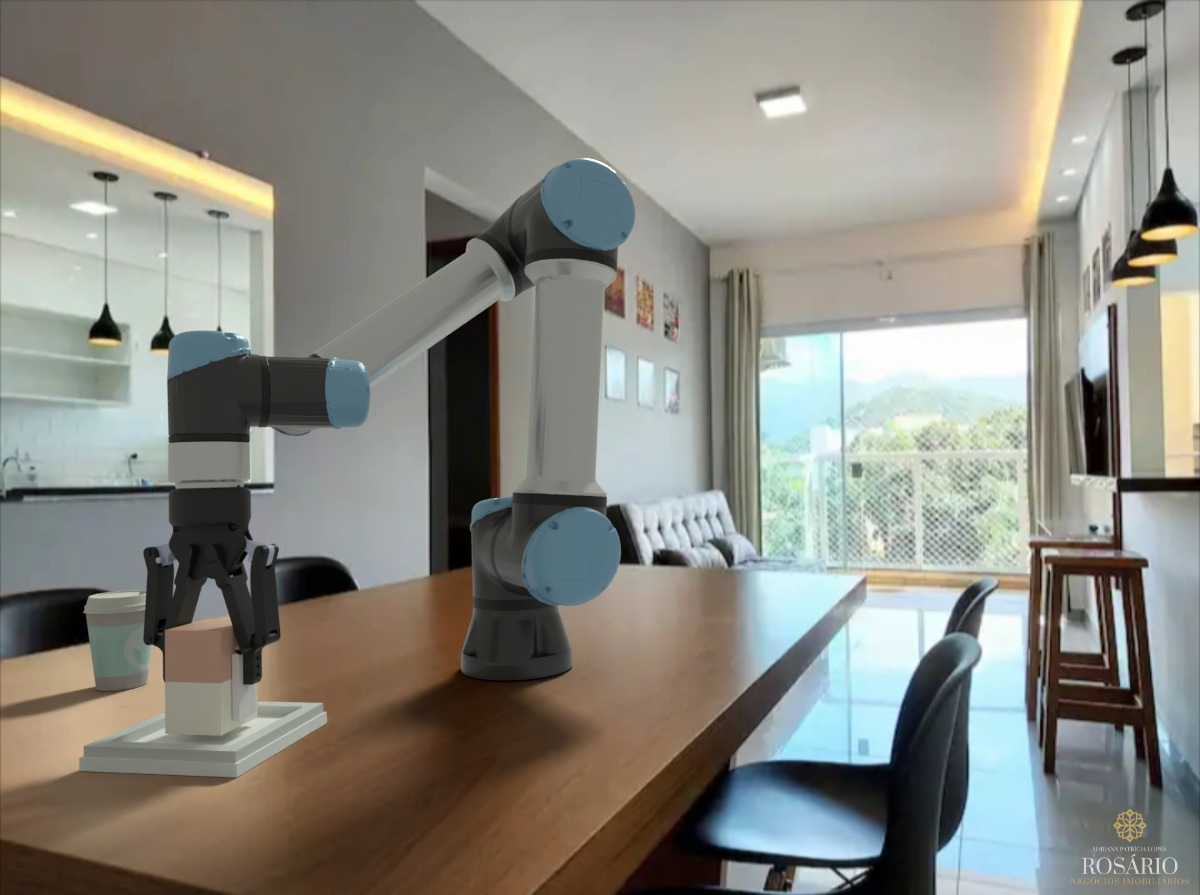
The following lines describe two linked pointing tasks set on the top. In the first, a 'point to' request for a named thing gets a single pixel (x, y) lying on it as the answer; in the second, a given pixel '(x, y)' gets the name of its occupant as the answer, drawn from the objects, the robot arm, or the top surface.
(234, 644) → the brick stack
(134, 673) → the coffee cup
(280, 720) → the base plate
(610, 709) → the top surface
